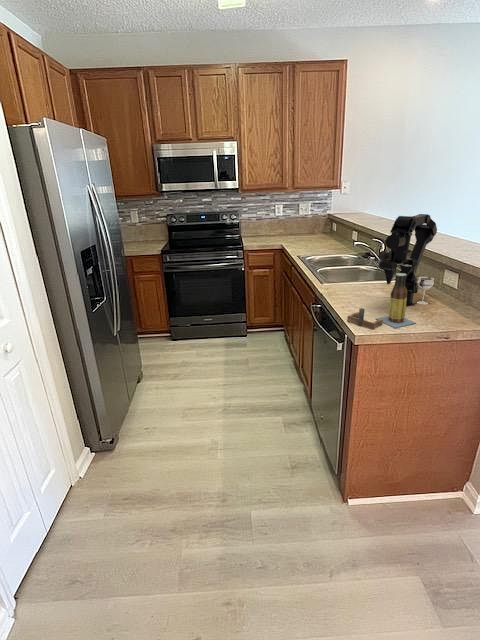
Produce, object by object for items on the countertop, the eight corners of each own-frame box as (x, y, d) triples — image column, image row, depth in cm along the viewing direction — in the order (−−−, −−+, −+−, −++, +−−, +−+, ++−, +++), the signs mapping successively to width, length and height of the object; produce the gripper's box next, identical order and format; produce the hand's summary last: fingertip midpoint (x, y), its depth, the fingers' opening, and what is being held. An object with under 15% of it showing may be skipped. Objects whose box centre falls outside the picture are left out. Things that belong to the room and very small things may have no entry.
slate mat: (395, 315, 160) (395, 314, 159) (415, 323, 150) (415, 322, 150) (375, 319, 156) (375, 318, 156) (394, 328, 146) (395, 327, 146)
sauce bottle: (397, 316, 156) (403, 271, 149) (407, 322, 151) (414, 275, 143) (384, 318, 155) (389, 272, 148) (393, 324, 149) (400, 276, 142)
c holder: (356, 317, 159) (358, 302, 156) (382, 324, 150) (384, 308, 148) (346, 322, 154) (347, 306, 152) (372, 330, 146) (374, 313, 143)
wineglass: (432, 305, 169) (436, 280, 165) (416, 304, 171) (420, 279, 166) (428, 300, 175) (432, 276, 171) (413, 300, 177) (416, 276, 172)
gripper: (398, 243, 166) (392, 277, 171) (371, 245, 156) (365, 281, 162) (421, 246, 157) (414, 282, 162) (393, 249, 147) (387, 287, 153)
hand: (395, 283), depth 160 cm, fingers open, 9 cm apart
